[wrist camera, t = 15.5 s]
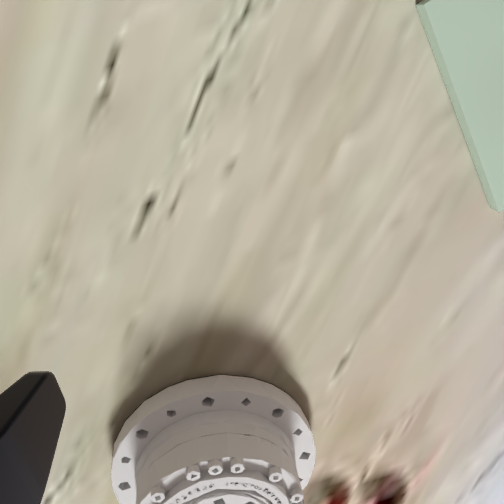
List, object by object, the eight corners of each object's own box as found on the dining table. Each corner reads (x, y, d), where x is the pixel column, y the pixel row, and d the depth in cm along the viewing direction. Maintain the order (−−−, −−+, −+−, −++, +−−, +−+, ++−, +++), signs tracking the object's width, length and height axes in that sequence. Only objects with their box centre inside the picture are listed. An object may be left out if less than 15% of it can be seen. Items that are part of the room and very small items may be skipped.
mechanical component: (308, 356, 23) (95, 386, 22) (337, 426, 19) (78, 467, 18) (308, 496, 27) (131, 527, 26) (332, 576, 23) (124, 617, 22)
